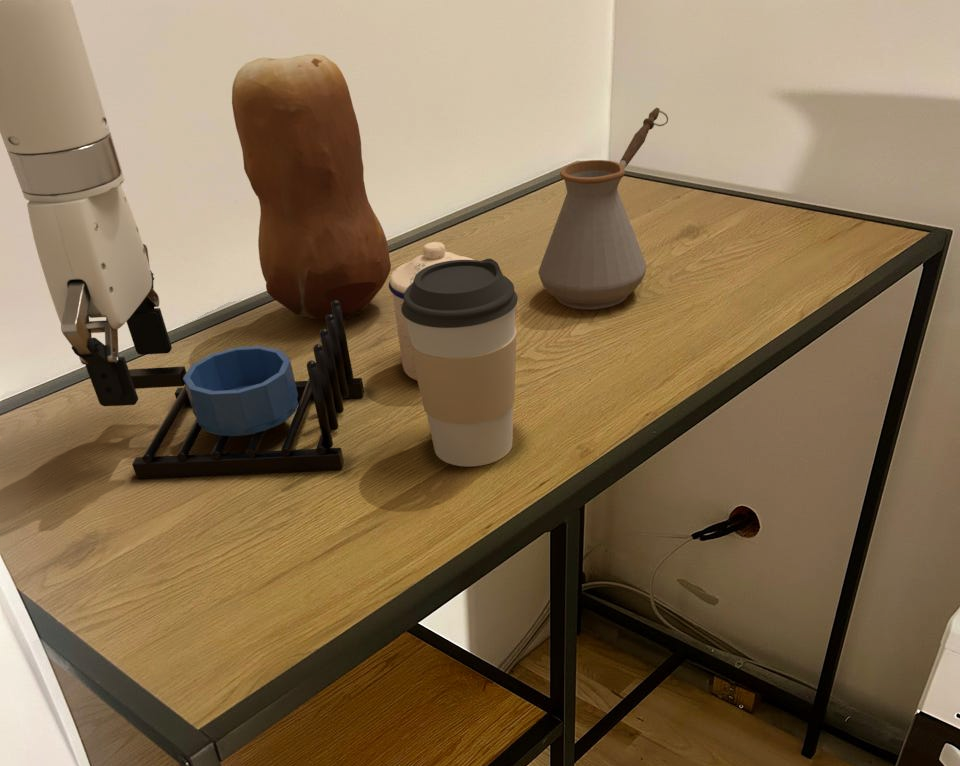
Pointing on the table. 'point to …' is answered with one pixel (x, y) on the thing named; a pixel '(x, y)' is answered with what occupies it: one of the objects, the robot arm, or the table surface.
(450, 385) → the coffee cup
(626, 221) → the coffee pot
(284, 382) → the saucepan
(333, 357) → the dish rack
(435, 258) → the teacup with lid
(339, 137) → the butternut squash
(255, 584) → the table surface
